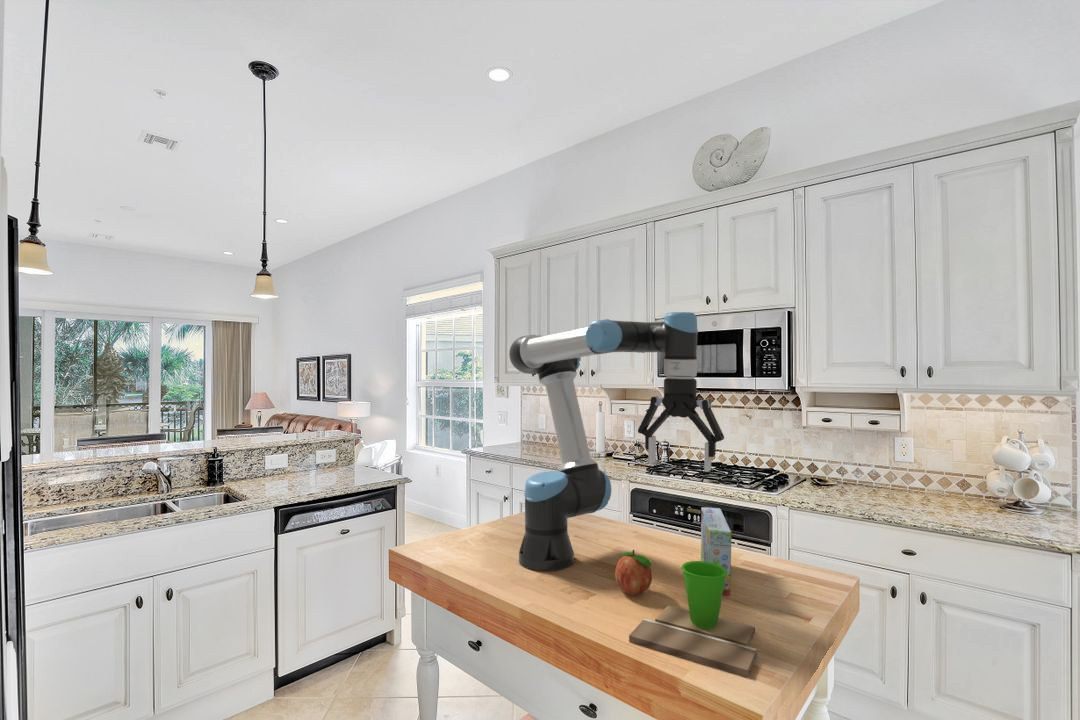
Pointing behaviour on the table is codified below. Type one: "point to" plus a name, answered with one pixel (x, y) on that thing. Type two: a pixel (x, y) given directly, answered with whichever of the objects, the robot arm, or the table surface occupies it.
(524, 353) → the robot arm
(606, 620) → the table surface
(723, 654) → the floorboard
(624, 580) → the fruit
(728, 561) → the snack box
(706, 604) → the cup
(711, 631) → the plank
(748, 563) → the table surface
